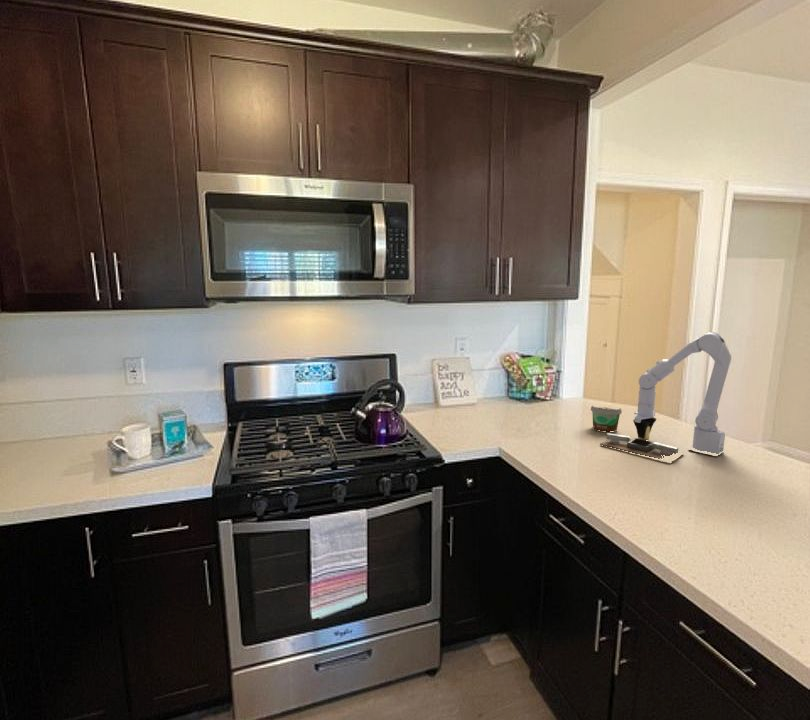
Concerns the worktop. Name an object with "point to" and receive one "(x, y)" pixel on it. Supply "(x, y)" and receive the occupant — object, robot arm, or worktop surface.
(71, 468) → the worktop surface
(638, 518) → the worktop surface
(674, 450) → the stand
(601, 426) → the food container
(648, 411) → the robot arm
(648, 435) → the brass coupler
